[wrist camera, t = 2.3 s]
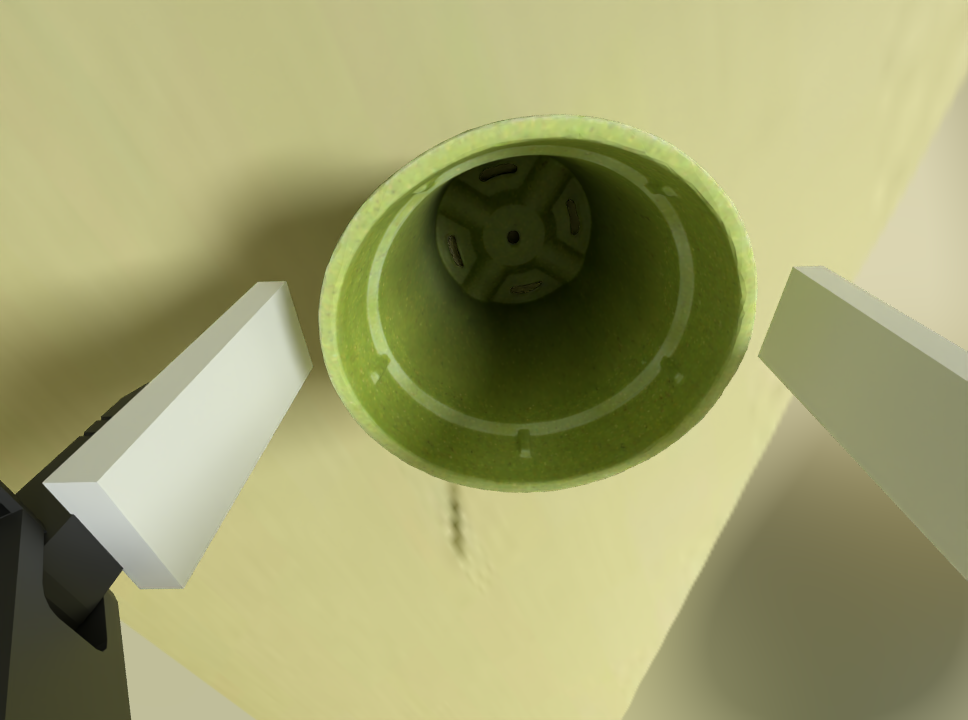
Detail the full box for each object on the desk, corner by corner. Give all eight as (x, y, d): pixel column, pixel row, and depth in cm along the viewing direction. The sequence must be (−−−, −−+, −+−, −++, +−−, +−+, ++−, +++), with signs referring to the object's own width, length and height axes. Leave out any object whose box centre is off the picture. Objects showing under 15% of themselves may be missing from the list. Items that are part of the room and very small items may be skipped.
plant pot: (344, 143, 15) (219, 223, 8) (618, 39, 13) (775, 20, 6) (442, 355, 20) (419, 519, 13) (647, 299, 18) (751, 452, 11)
